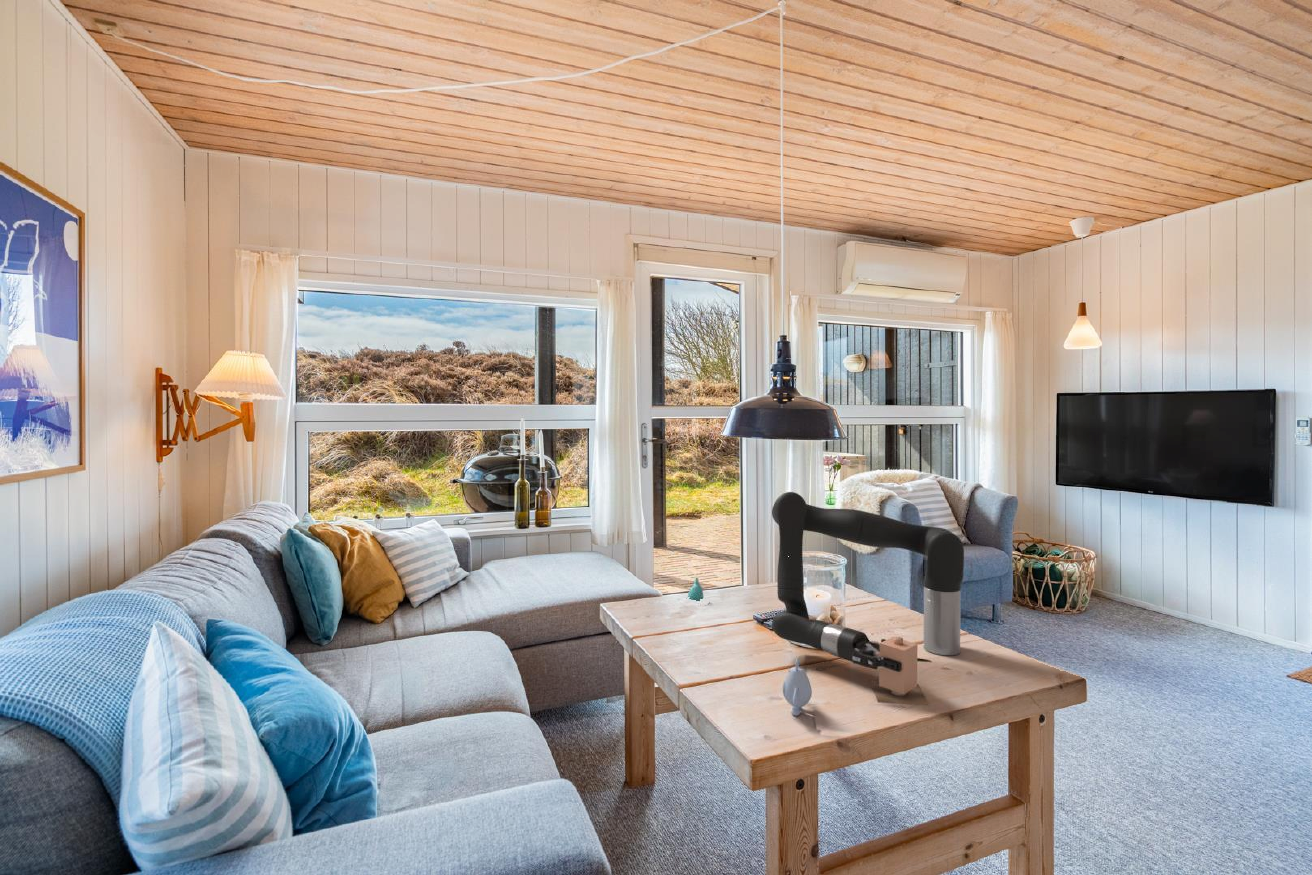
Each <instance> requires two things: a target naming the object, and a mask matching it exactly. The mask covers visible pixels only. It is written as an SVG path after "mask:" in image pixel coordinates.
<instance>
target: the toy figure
mask: <svg viewBox="0 0 1312 875" xmlns="http://www.w3.org/2000/svg"><path fill="white" fill-rule="evenodd" d="M799 658H800V656H797V657H796V660H795V666H793V667H791V668H790V669H789V670H788V673H787V674H786V676H785V679H784V681H783V684H782V694H783V697H784V699H785V700H786V702H787V703H788V704H789V705H791V706H792V709H791V711H790V714H791V715H792V716H797V717H798V716H800V714H801V712H802V711H801V710H802V707H805V706H806V705H807V704H808V703H809V702H810V700H811V698H812V693H813V691H812V686H811V682H810V678H809V677H808V675H807V673H806V671H805V670H804V668H803V667H802V666H801V667H800V659H799Z"/></svg>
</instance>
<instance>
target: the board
mask: <svg viewBox="0 0 1312 875" xmlns="http://www.w3.org/2000/svg"><path fill="white" fill-rule="evenodd" d="M869 682H870V684H871V687H872V690H873V693H874V695H875V698H876V701H877V703H883V704H884V703H888V704H902V705H915V706H916V705H918V706H931V705H930V703H929V700H928V699H927V698H926V696H925V694H924V692H923V690H922V689H921V686H920V685H919V684H918V683H917V687H916V688H914V689H912V690H910V691H909V692H907V693H906V695H904V696H898V695H894V694H893V693H892V692H891V690H890V689H887V688H885V687H882V686H879V681H875V680H874V681H873V680H871V681H869Z"/></svg>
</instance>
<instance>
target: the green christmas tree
mask: <svg viewBox="0 0 1312 875" xmlns="http://www.w3.org/2000/svg"><path fill="white" fill-rule="evenodd" d="M699 581H700V580H699V577H695V580H694V583H693V585H692V587H691V589H690V590H689V591H688V593H687V598H688V597H690V598H689V599H691V600H696V601H700V599H703V598H704V589H703V587H702V586H701V584H700V582H699Z"/></svg>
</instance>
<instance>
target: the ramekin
mask: <svg viewBox="0 0 1312 875" xmlns="http://www.w3.org/2000/svg"><path fill="white" fill-rule="evenodd" d="M891 692H892V693H893V694H894V695H898V696H904V695H906V693H905V694H901V693H898V692H896V691H893V690H891Z"/></svg>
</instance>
